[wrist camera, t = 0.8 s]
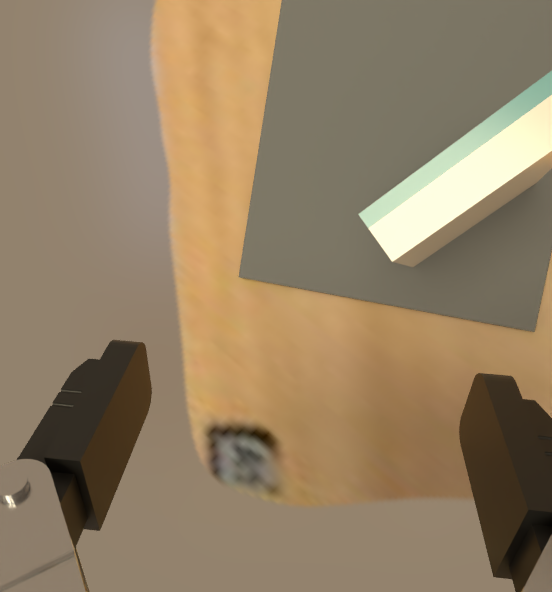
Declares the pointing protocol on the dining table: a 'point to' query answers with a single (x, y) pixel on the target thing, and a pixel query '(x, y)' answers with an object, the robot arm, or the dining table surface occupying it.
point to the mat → (395, 151)
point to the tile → (467, 179)
